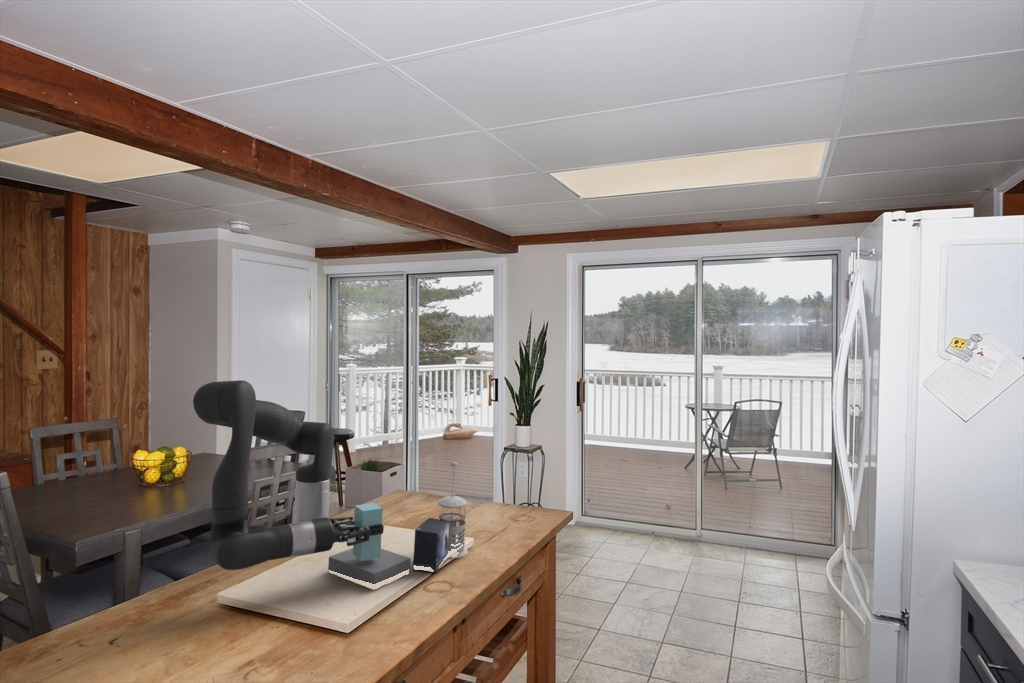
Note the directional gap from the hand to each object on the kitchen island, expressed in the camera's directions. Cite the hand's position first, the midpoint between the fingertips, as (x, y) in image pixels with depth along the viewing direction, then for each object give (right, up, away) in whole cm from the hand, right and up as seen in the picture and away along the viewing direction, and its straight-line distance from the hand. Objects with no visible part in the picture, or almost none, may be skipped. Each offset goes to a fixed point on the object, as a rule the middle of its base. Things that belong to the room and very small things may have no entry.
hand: (377, 525), depth 146 cm
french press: (+16, -13, +19) cm, 28 cm away
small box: (+12, -13, +8) cm, 20 cm away
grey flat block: (-2, -12, +1) cm, 13 cm away
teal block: (-2, -7, -1) cm, 7 cm away
